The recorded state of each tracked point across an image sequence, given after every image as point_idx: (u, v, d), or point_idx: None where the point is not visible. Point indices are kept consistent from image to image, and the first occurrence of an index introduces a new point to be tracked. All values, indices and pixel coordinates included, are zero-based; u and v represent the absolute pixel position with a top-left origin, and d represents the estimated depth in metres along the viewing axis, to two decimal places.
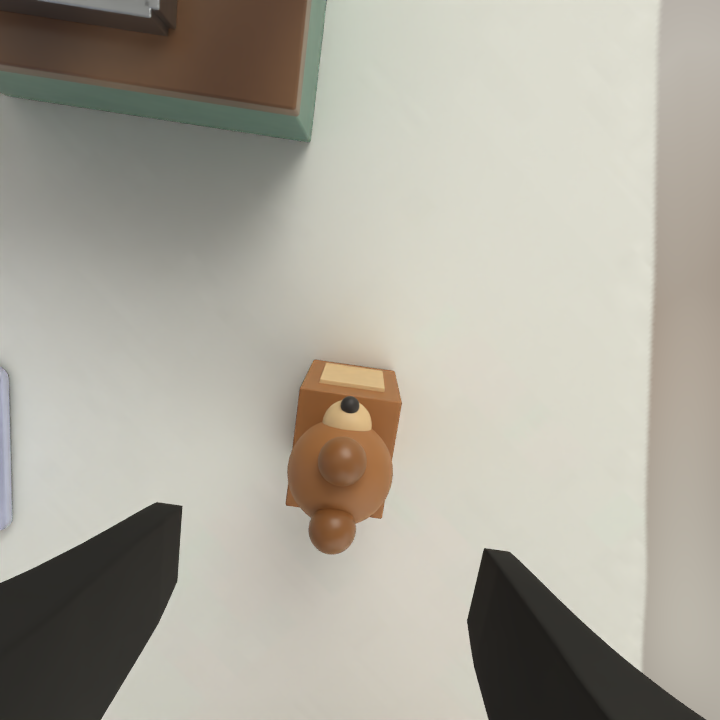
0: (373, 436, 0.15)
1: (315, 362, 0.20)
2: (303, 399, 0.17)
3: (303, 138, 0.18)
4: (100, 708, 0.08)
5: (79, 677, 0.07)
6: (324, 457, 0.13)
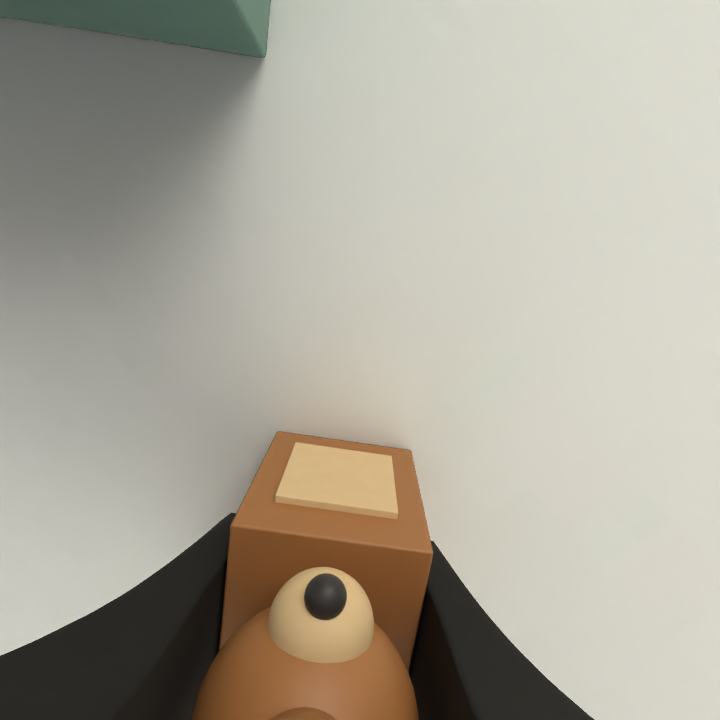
0: (377, 666, 0.07)
1: (278, 439, 0.12)
2: (238, 546, 0.08)
3: (250, 46, 0.10)
4: None
5: (187, 691, 0.08)
6: None
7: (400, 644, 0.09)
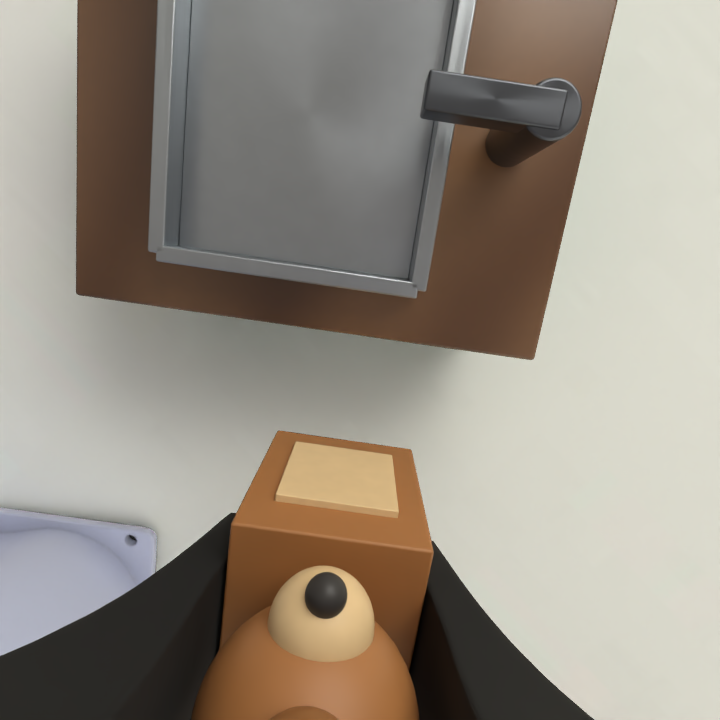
0: (377, 665, 0.07)
1: (278, 438, 0.12)
2: (238, 544, 0.08)
3: None
4: None
5: (186, 691, 0.08)
6: None
7: (401, 643, 0.09)
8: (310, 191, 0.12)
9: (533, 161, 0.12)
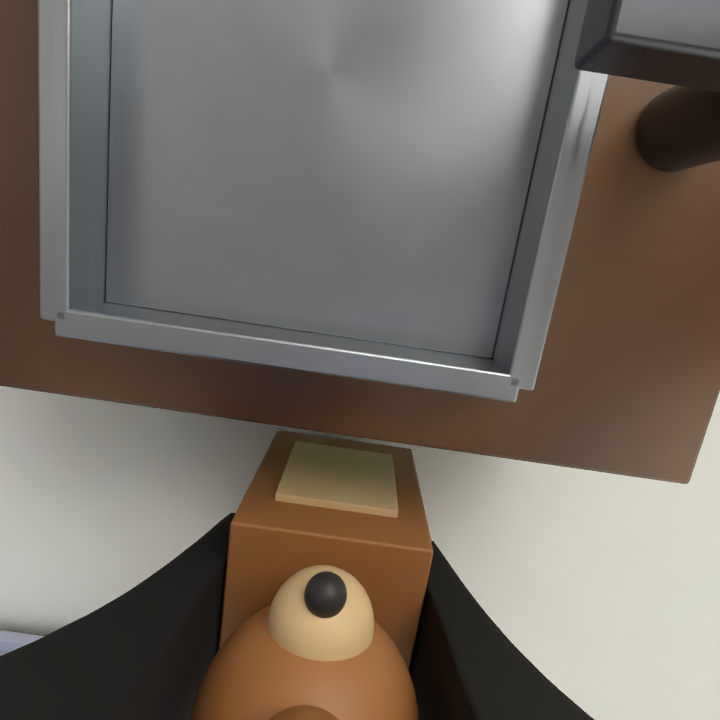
0: (377, 664, 0.07)
1: (278, 437, 0.12)
2: (238, 544, 0.08)
3: None
4: None
5: (186, 691, 0.08)
6: None
7: (400, 643, 0.09)
8: (329, 212, 0.07)
9: (715, 161, 0.07)
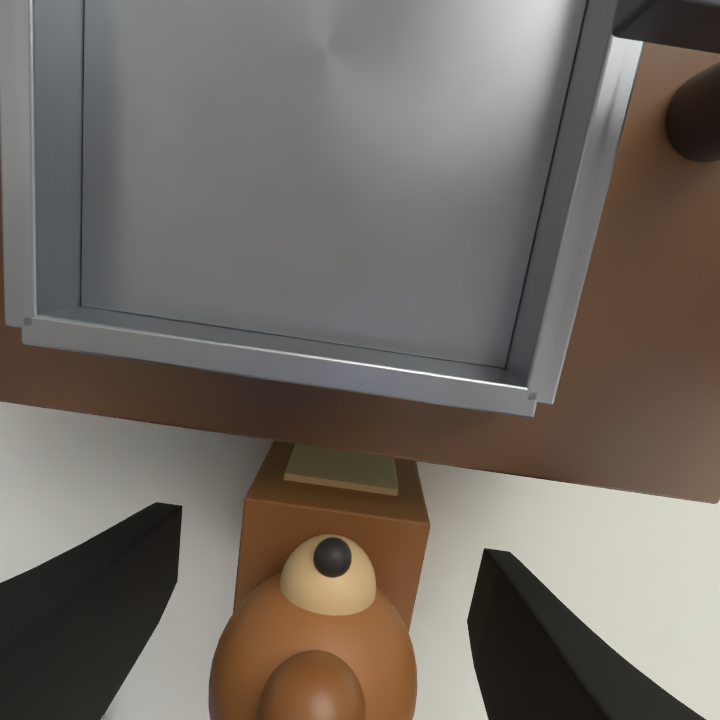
0: (379, 619, 0.07)
1: None
2: (251, 518, 0.09)
3: None
4: (100, 708, 0.08)
5: (79, 677, 0.07)
6: None
7: (400, 609, 0.09)
8: (326, 206, 0.06)
9: None
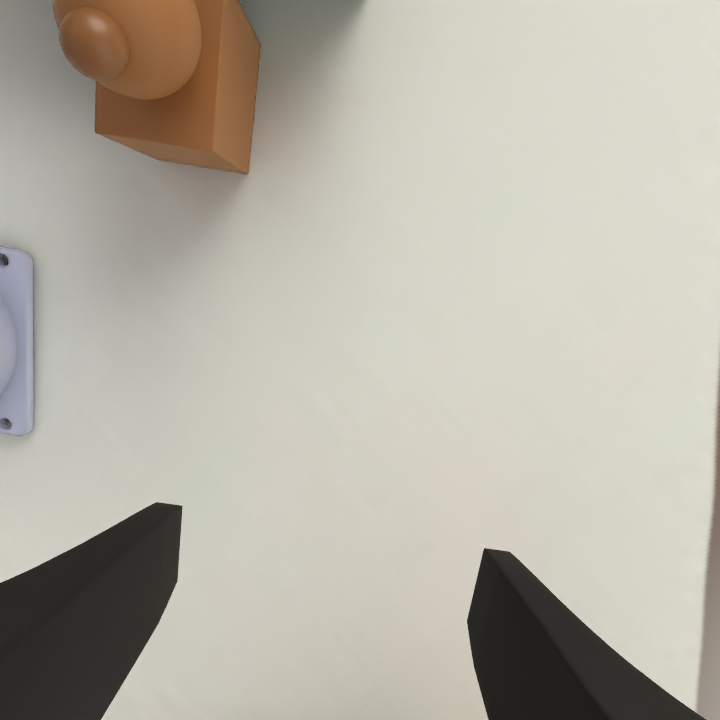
0: None
1: None
2: None
3: None
4: (100, 708, 0.08)
5: (79, 677, 0.07)
6: None
7: (211, 53, 0.14)
8: None
9: None
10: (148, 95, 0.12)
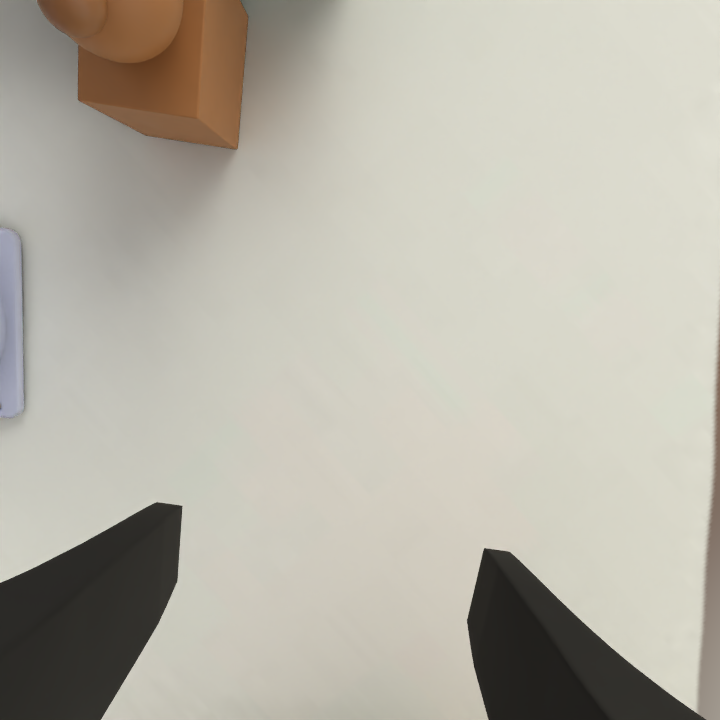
0: None
1: None
2: None
3: None
4: (100, 708, 0.08)
5: (79, 677, 0.07)
6: None
7: (194, 18, 0.13)
8: None
9: None
10: (129, 57, 0.12)
